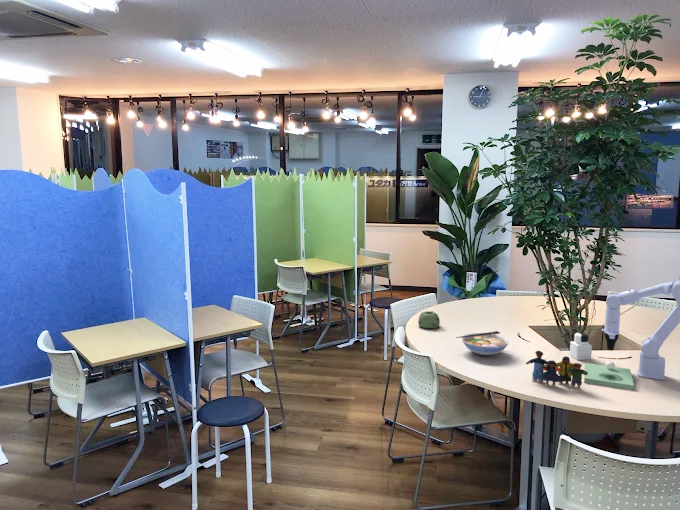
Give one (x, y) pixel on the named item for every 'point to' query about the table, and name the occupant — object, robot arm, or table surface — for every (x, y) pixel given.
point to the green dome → (428, 320)
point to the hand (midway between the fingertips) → (610, 349)
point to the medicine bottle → (580, 347)
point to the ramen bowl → (485, 342)
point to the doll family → (564, 371)
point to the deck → (608, 376)
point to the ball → (610, 365)
